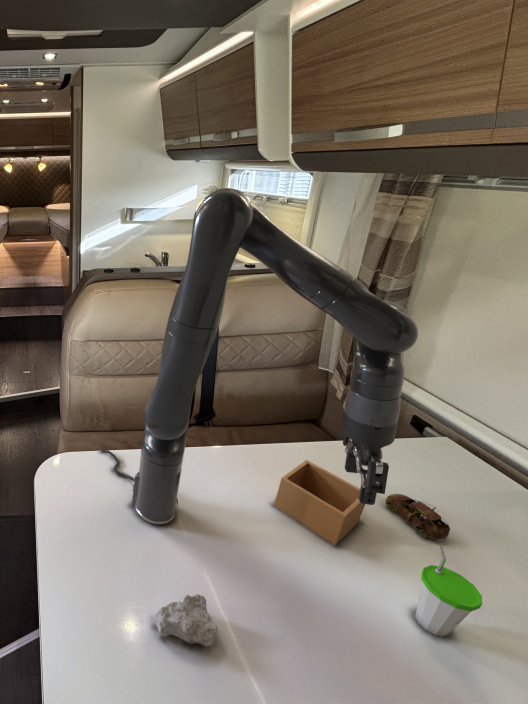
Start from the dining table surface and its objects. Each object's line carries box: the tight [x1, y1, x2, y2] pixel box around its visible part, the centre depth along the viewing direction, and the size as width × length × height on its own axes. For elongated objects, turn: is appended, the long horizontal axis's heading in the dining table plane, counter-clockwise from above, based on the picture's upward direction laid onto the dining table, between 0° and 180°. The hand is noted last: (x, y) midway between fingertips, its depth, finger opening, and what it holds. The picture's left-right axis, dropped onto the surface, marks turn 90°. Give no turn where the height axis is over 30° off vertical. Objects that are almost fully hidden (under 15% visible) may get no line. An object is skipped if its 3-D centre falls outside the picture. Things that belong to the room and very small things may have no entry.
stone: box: [153, 593, 218, 647], centre depth 76 cm, size 8×10×6 cm
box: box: [273, 459, 366, 546], centre depth 100 cm, size 12×14×9 cm
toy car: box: [384, 493, 451, 540], centre depth 99 cm, size 12×7×5 cm, turn 10°
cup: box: [414, 545, 483, 638], centre depth 75 cm, size 8×8×15 cm
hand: (358, 486), depth 80 cm, fingers open, 8 cm apart
